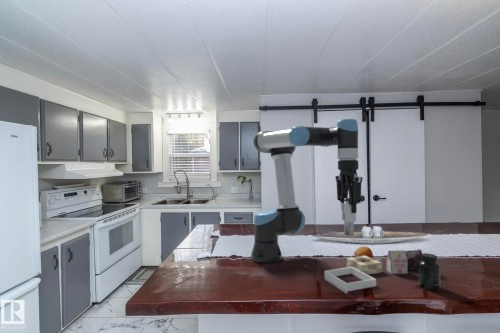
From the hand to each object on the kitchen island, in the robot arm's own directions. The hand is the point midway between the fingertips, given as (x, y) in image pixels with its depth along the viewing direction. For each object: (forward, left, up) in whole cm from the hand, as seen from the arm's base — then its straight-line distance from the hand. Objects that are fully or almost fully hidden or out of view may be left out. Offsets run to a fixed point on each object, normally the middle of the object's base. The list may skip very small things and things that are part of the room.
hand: (348, 220), depth 112 cm
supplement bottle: (+13, +25, -25) cm, 38 cm away
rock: (-2, +34, -25) cm, 42 cm away
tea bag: (-1, +24, -25) cm, 35 cm away
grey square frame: (0, 0, -24) cm, 24 cm away
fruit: (-19, +22, -25) cm, 38 cm away
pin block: (-8, +13, -24) cm, 29 cm away
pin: (0, 0, -6) cm, 6 cm away
